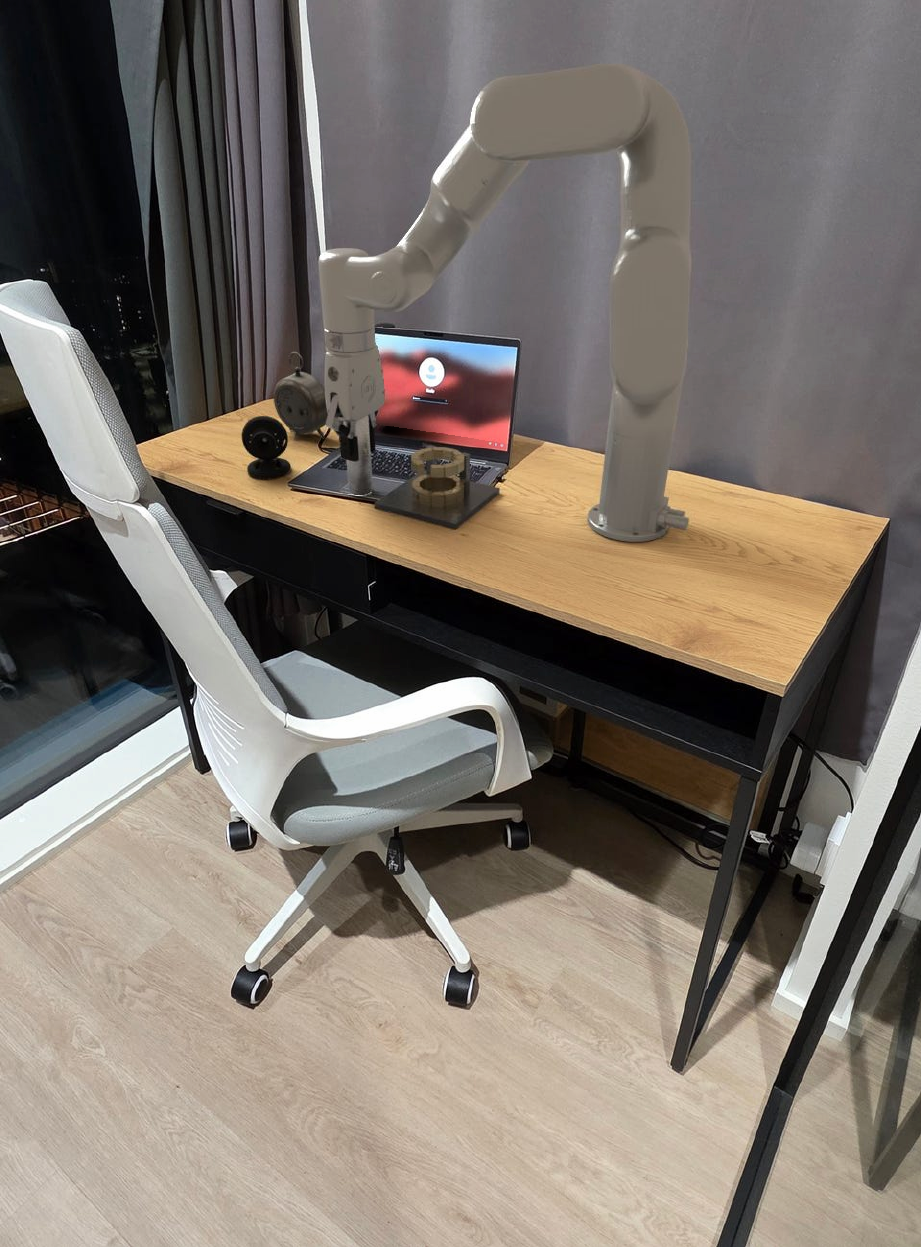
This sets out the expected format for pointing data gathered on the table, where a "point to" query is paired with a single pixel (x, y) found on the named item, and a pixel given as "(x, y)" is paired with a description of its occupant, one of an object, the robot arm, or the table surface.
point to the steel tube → (361, 460)
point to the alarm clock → (301, 402)
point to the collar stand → (439, 490)
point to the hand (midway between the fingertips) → (358, 453)
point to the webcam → (266, 447)
